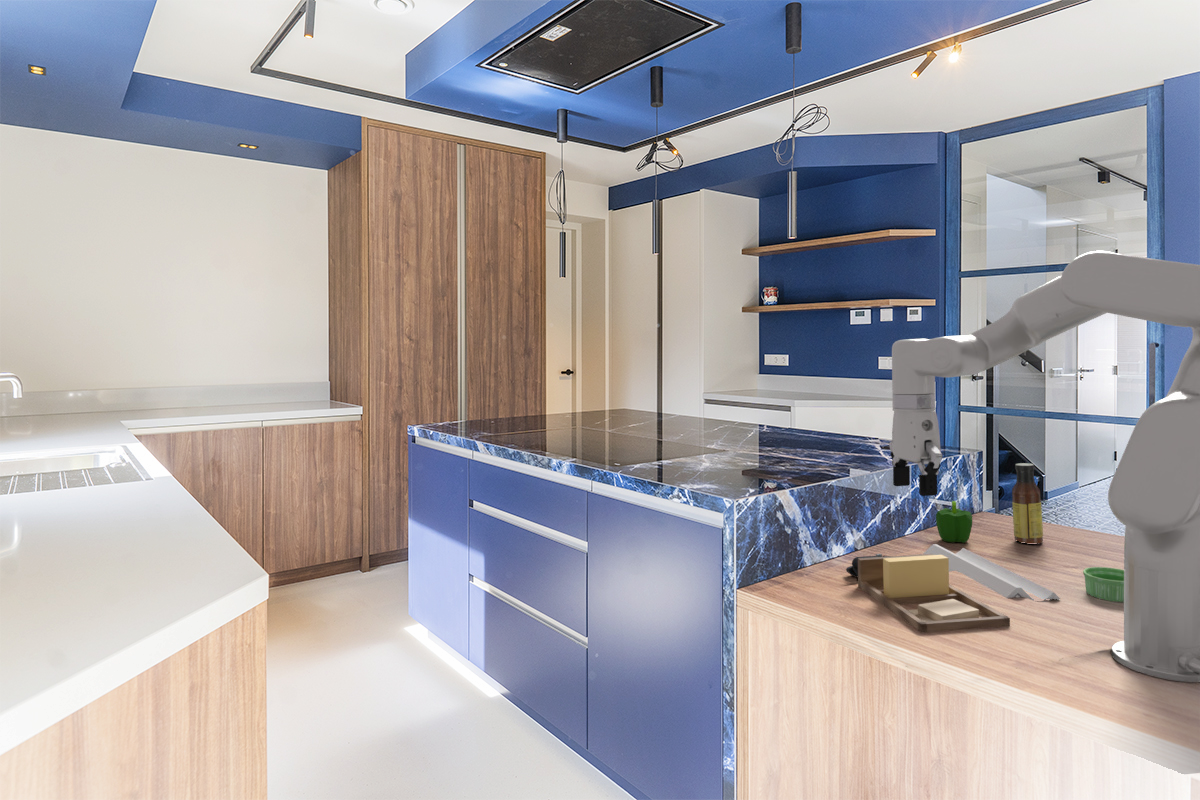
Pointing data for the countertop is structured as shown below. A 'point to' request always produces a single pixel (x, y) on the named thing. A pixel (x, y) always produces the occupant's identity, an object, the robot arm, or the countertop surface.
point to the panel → (916, 576)
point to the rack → (925, 601)
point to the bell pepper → (954, 524)
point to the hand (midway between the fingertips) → (914, 490)
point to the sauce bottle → (1027, 506)
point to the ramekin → (1105, 583)
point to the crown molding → (991, 574)
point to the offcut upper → (947, 610)
